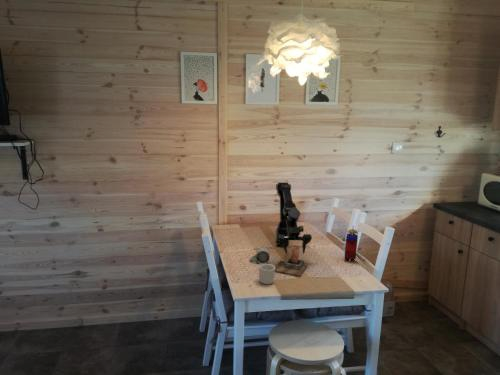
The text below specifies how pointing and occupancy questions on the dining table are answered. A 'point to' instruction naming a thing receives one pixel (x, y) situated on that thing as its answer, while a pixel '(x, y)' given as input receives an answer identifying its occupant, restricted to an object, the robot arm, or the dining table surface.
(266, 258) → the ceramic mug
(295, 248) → the peg
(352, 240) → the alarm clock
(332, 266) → the dining table surface
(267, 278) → the cup
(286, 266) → the socket board
